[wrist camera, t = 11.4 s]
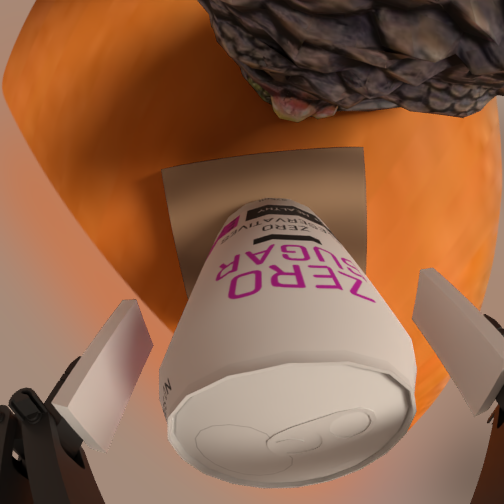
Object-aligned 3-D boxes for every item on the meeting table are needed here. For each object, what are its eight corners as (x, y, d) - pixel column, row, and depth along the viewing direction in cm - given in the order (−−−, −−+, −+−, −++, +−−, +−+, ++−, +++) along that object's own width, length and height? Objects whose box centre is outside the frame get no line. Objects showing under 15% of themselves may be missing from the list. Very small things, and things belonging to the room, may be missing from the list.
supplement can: (250, 317, 22) (240, 502, 8) (195, 229, 20) (86, 392, 6) (344, 274, 21) (434, 443, 7) (299, 175, 18) (416, 261, 4)
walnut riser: (177, 165, 22) (161, 169, 18) (346, 146, 21) (363, 147, 17) (206, 313, 27) (198, 338, 23) (350, 298, 26) (362, 321, 22)
